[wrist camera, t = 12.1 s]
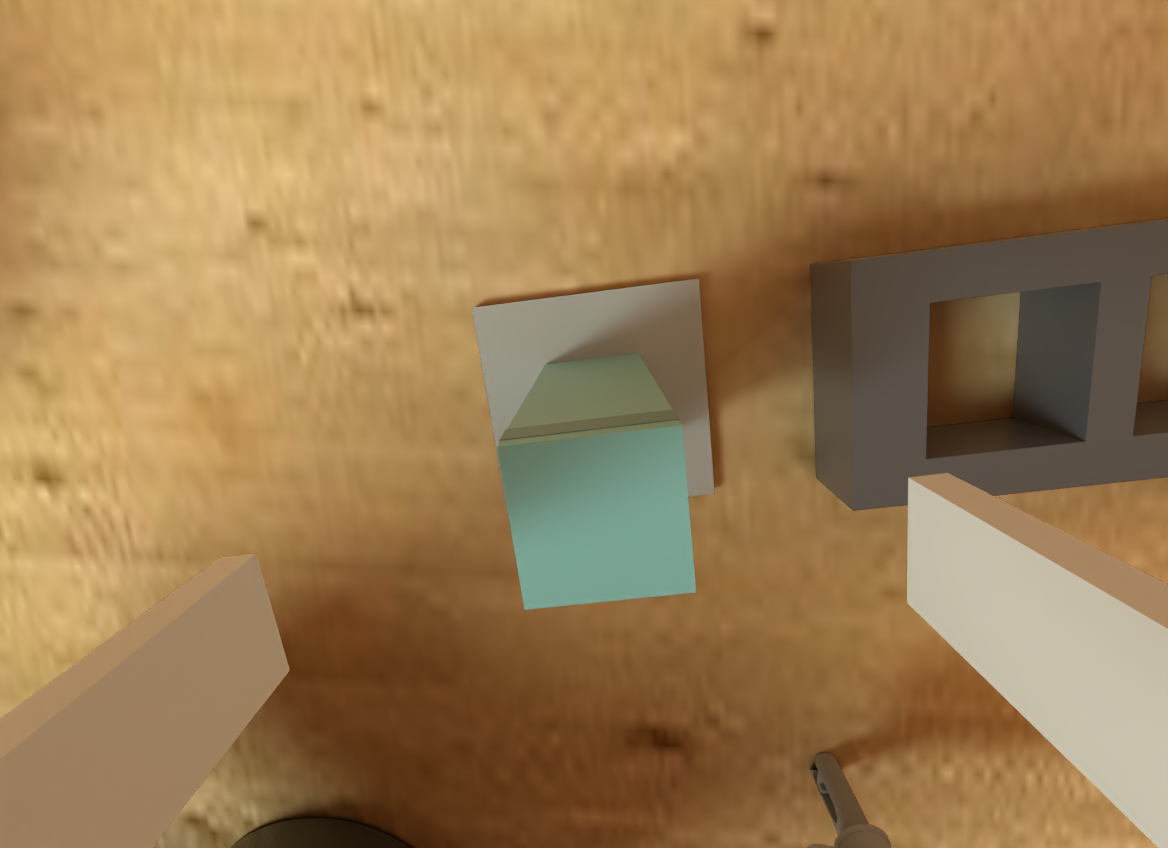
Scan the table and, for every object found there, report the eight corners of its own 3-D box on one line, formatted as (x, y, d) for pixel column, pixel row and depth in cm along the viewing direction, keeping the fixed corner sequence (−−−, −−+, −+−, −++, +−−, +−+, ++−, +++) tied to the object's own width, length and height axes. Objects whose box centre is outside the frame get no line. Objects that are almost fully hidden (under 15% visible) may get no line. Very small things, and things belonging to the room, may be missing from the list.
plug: (557, 452, 26) (524, 610, 14) (545, 363, 25) (495, 446, 13) (647, 442, 26) (697, 592, 14) (638, 352, 25) (683, 424, 12)
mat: (509, 511, 28) (507, 516, 27) (474, 307, 25) (471, 307, 25) (712, 489, 27) (714, 493, 27) (696, 278, 25) (699, 278, 24)
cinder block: (816, 477, 27) (853, 510, 23) (810, 263, 25) (851, 260, 21) (1251, 429, 26) (1366, 455, 22) (1290, 202, 24) (1427, 186, 20)
